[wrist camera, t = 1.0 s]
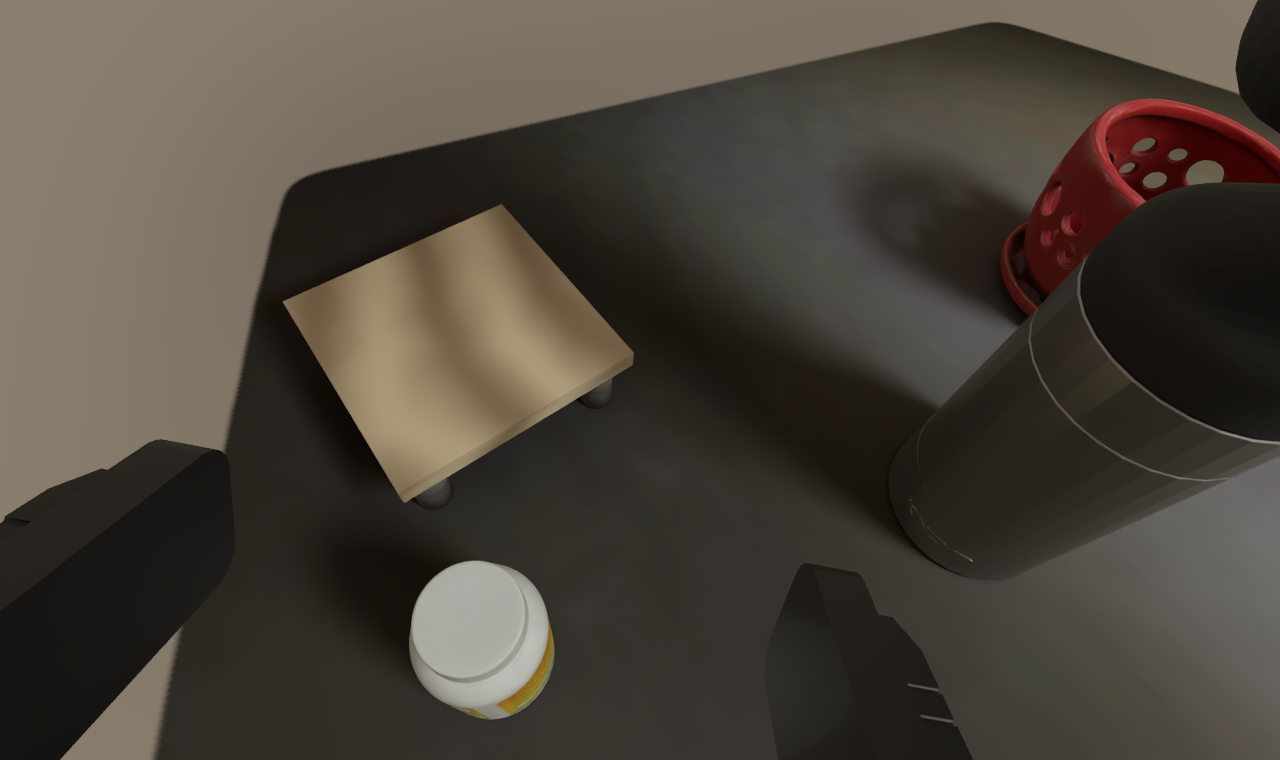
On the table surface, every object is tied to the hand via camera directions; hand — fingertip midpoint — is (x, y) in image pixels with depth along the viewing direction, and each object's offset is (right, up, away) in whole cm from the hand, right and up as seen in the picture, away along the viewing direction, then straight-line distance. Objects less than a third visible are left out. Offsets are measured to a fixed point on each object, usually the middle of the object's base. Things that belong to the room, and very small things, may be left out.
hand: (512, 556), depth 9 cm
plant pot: (+34, +8, +37) cm, 51 cm away
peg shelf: (-9, +3, +30) cm, 32 cm away
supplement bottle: (-5, -11, +22) cm, 26 cm away
